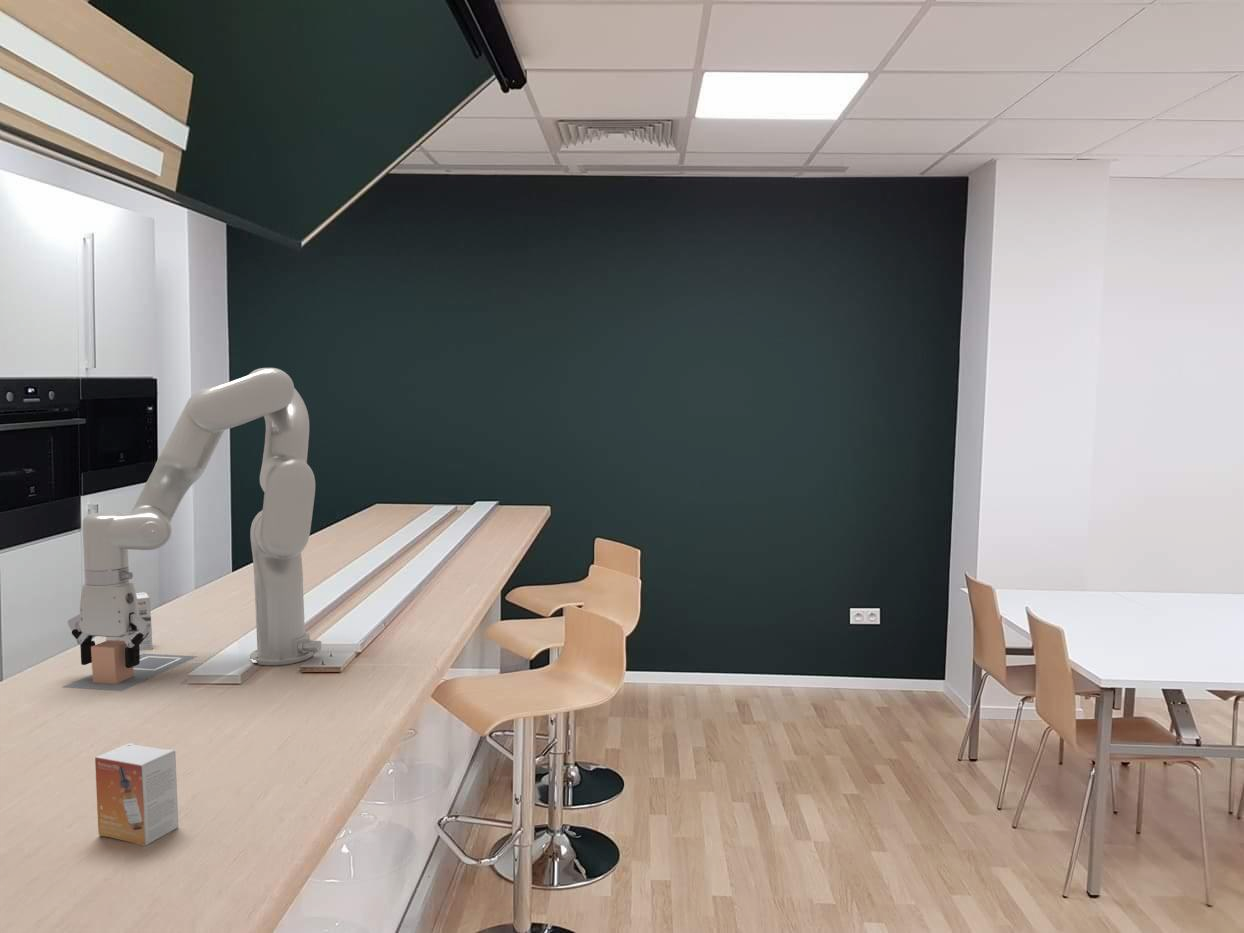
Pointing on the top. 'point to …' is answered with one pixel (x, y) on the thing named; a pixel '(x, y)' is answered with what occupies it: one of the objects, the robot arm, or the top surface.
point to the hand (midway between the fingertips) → (110, 664)
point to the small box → (136, 793)
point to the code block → (110, 662)
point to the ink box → (144, 614)
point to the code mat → (136, 672)
